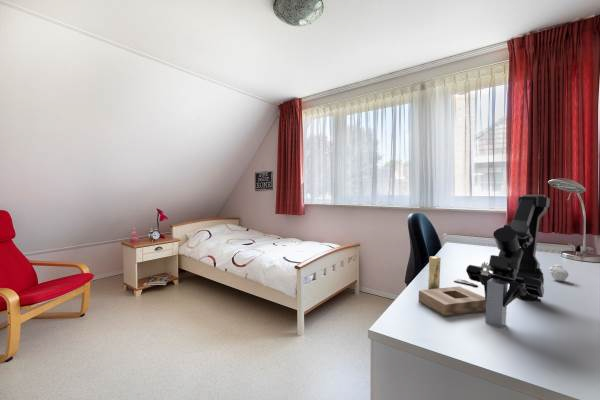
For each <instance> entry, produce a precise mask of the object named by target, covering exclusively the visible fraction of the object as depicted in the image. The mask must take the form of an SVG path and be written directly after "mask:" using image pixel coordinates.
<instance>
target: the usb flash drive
mask: <svg viewBox="0 0 600 400" xmlns="http://www.w3.org/2000/svg"><path fill="white" fill-rule="evenodd" d="M453 282H454V283H455V282H459V283H462V284H465V285H467V286H469V287H473V288H478V287H479V284H475V283H473V282H471V281H467V280H465V279H460V278H458V279H455V280H454V281H453Z"/></svg>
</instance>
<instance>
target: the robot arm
mask: <svg viewBox="0 0 600 400" xmlns="http://www.w3.org/2000/svg"><path fill="white" fill-rule="evenodd" d="M550 202H551V201H550V198H549V197H546V195H545V194H524V195H520V196H518V197H517V208H516V210H515V214H514V216H513V219H512V221H511V222H509V223H508V224H504V225H503V226H502V227H499V228H497V229H496V230H494V231H493V235H492V236H493V238H494V241H495V245H496V247H497V249H498V250H499V252H498V255H495V254H491V255H490V256H489V257H490V258H489V262H488V265H489V266H491V268H490V269H491V271H489V272H488V271H486V270H484V269H483V268H482V267H481V266H479V265H473V264H468V265H467V266H466V268H465V271H466V274H467V276H468V278H469V280H471V281H474V282H477V283H480V284H481V285H482V286H483V287H484V288H483V289H484V290H483V291H484V297H485V300H486V299H487V281H488V280H490V279H491V278H493V279H498V280H502V281H506V282H508V285H509V287H508V289H507V294H506V297H505V299H504V302H503V307H506V306H508V305H509V304H511V303H512V302H514V300H515V299H518V298H519V299H520V300H522V301H535V302H536V301H538V302H542V299H541V298H544V294H545V287H544V283H545V282H544V281H545V279H544V273H543V271H542V269H541V264H540V261H539V260H538V259H537V257H536V252H537V246H538V244H537V243H538V237H539V236H538V235H539V230H540V229H539V227H540V221H541V218H543V216H544V215H545V214H547V209H548V208H549V207H550ZM492 271H493V272H492Z"/></svg>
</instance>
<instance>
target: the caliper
mask: <svg viewBox="0 0 600 400" xmlns="http://www.w3.org/2000/svg"><path fill="white" fill-rule="evenodd" d="M480 267H482V268H483V270H484V269H485V271H488V272H491V273H493V271H491V269H490V268H491V266H489V262H487V261H483V262H482V263H481V265H480Z"/></svg>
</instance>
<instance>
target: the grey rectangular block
mask: <svg viewBox="0 0 600 400" xmlns="http://www.w3.org/2000/svg"><path fill="white" fill-rule="evenodd" d="M508 285H509V284H508V282H506V281H502V280H498V279H493V278H491V279H490V280H488V281H487V299H486V312H485V321H484V323H485V324H487V325H490V326H493V327H495V328H499V329H503V328H504V327H505V326H506V325H507V306H508V305H507V306H506V307H503V302H504V299H505V297H506V294H507V292H508V289H509V287H508Z"/></svg>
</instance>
